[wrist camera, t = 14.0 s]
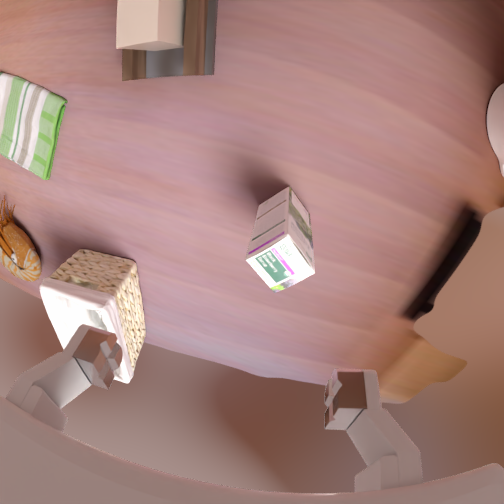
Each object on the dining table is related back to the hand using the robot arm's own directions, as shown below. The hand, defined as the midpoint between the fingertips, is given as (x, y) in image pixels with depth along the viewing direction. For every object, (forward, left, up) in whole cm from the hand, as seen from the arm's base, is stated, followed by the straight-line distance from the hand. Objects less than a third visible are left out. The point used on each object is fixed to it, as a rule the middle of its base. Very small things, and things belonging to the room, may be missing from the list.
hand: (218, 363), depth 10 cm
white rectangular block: (+15, -22, -33) cm, 42 cm away
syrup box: (-2, +10, -34) cm, 36 cm away
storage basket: (+31, +33, -34) cm, 57 cm away
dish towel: (+48, -5, -35) cm, 60 cm away
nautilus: (+57, +21, -34) cm, 70 cm away
